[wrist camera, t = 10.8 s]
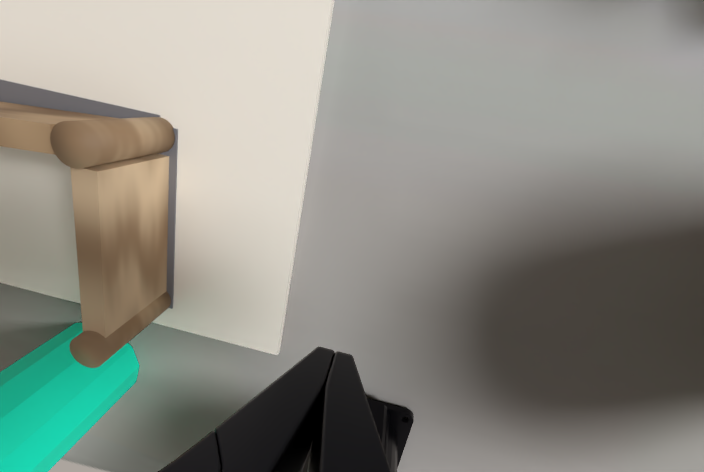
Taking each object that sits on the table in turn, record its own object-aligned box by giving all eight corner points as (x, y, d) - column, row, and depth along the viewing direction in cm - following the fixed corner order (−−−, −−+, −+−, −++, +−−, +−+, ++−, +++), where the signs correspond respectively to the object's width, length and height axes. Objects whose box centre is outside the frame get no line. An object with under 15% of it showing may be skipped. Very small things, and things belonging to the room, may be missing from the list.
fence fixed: (171, 312, 23) (104, 371, 18) (144, 306, 23) (71, 362, 18) (176, 120, 19) (91, 126, 14) (143, 113, 19) (47, 116, 14)
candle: (143, 399, 27) (-46, 609, 16) (67, 383, 27) (-167, 575, 16) (135, 329, 25) (-89, 513, 14) (54, 314, 25) (-225, 478, 14)
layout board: (280, 350, 24) (276, 356, 23) (-58, 262, 25) (-69, 265, 25) (358, -152, 15) (356, -162, 14) (-169, -241, 16) (-189, -253, 16)
